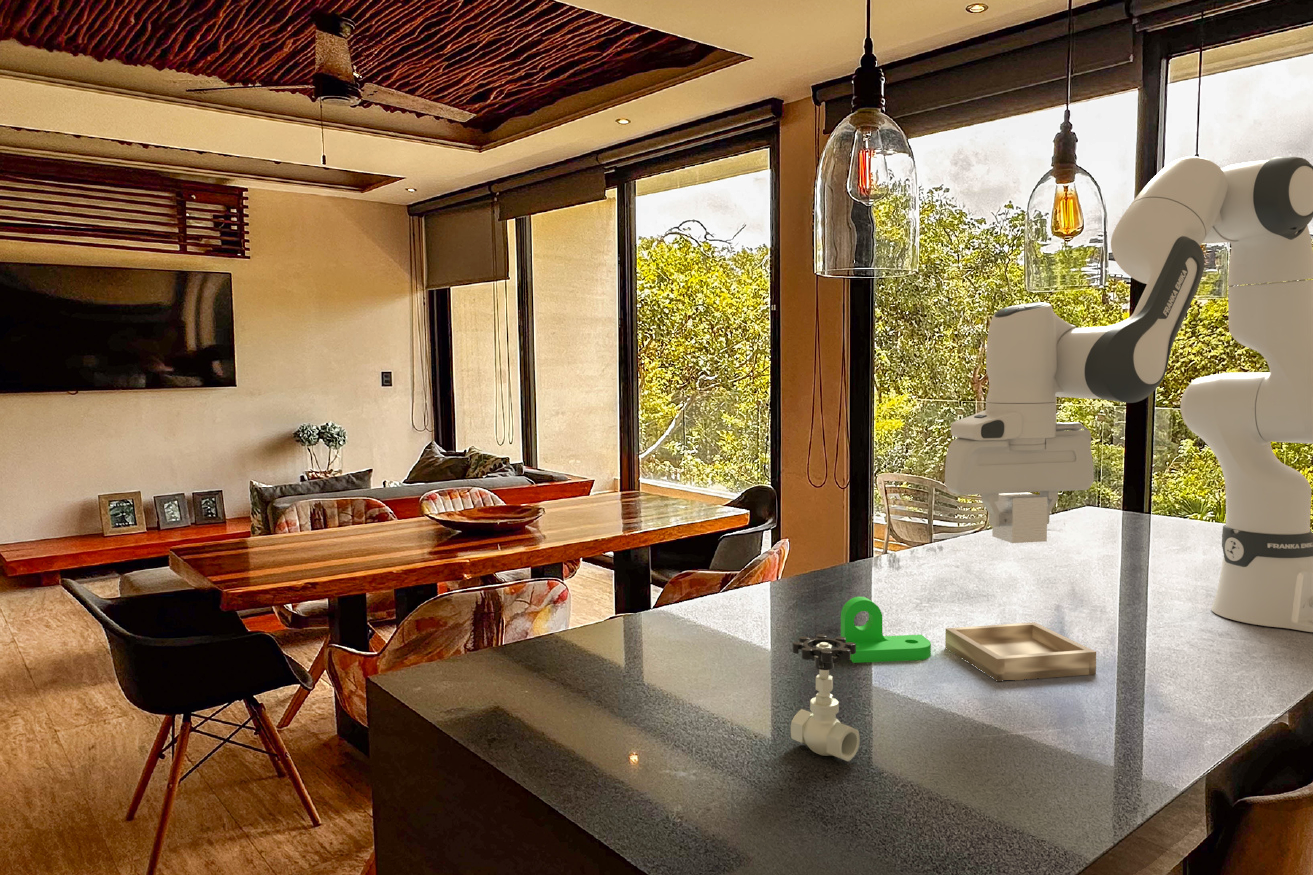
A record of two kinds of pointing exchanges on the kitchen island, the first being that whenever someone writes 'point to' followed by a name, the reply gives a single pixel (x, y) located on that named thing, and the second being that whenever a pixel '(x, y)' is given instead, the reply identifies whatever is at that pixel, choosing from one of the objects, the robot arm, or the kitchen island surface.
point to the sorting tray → (1020, 651)
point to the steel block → (1022, 518)
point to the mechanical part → (878, 636)
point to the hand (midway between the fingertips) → (1019, 524)
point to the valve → (824, 701)
